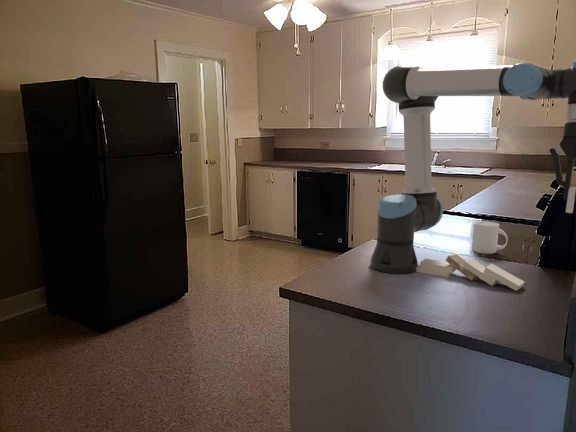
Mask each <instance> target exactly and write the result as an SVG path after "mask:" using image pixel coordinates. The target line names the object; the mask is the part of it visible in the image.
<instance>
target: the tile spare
mask: <svg viewBox="0 0 576 432" xmlns="http://www.w3.org/2000/svg"><path fill="white" fill-rule="evenodd" d="M465 261H466V260H465V259H464V258H462V257H461V256H459V255H458V254H452V255H448V256H447V257H446V258H445V261H444V262H448V263H449V264H450V265H452V266H453V267H454V268H456V269H457V270H456V271H458V272H459V273H461V274H462V275H464V277H466V278H467V279H469V280H470V281H476V280H479V279H480V280H481V278H479V277H478V276H476V275H475V274H473V273H472V272H470V271H469V270H467V269H466V268H464V267H463V264H464V262H465Z"/></svg>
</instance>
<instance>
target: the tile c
mask: <svg viewBox="0 0 576 432" xmlns="http://www.w3.org/2000/svg"><path fill="white" fill-rule="evenodd" d="M463 267H464V268H466V269H467V270H469V271H470V272H472V273H473V274H475V275H476V276H478V277H479V278H480V280H482V281H484V282H485V283H487V284H488V285H490V286H491V287H492V286H495V285H497V284H500V282H499V281H497V280H496V279H494V278H492V277H490V276H489V275H487V274H485V273H483V271H484V270H485V268H486V267H487V266H484V265H483V264H481V262H478V261H477V260H476V259H474V258H472V259H471V258H470V259H468V260H465V262H464V264H463Z"/></svg>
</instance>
